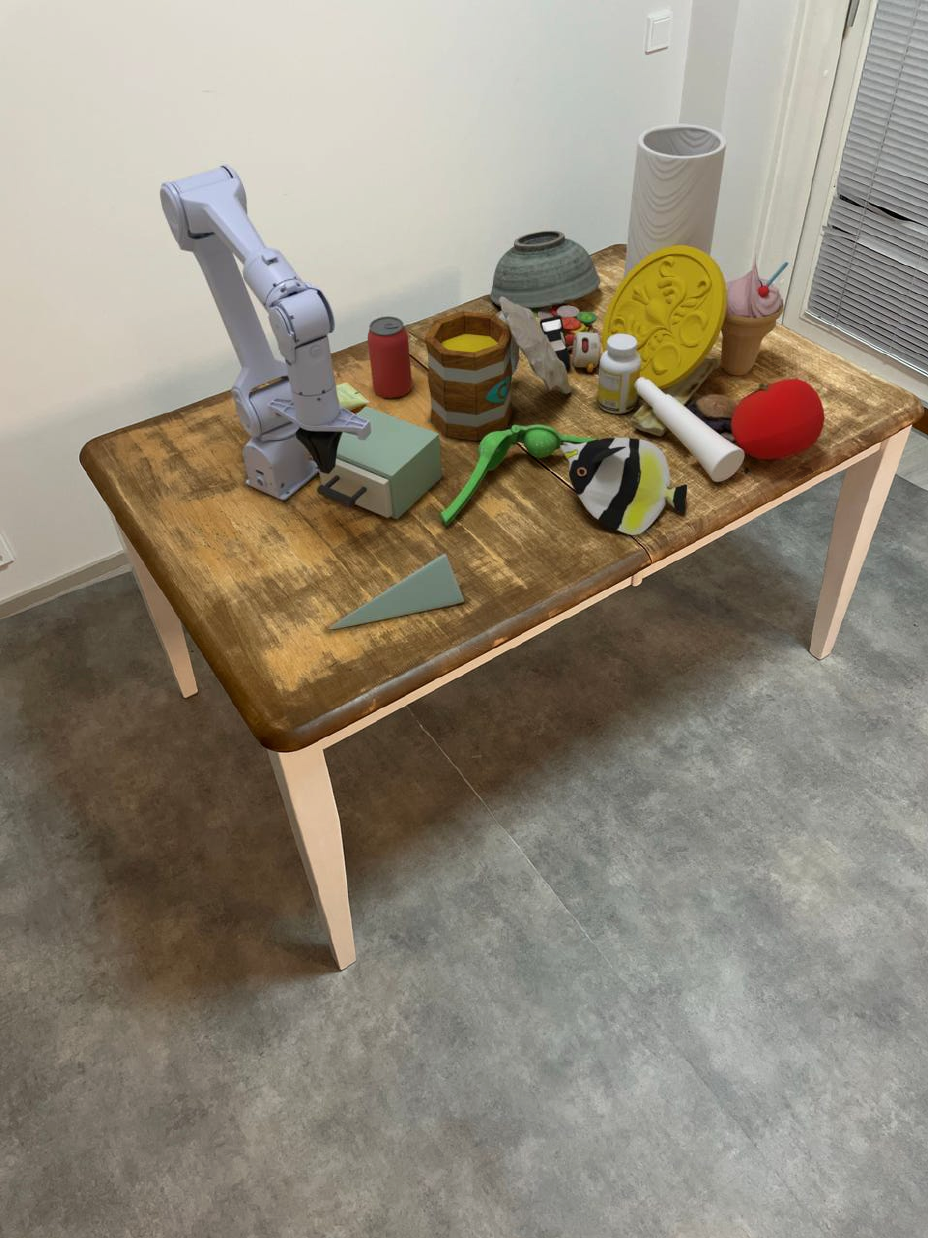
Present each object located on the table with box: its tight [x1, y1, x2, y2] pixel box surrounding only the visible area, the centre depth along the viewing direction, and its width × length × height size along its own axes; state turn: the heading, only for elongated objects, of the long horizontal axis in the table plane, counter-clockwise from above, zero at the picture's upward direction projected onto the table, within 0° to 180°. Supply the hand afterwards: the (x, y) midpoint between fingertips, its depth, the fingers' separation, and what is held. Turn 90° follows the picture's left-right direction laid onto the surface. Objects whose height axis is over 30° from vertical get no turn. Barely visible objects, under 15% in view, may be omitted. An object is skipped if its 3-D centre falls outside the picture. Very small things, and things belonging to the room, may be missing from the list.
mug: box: [424, 310, 520, 442], centre depth 154 cm, size 20×14×15 cm
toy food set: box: [530, 303, 598, 351], centre depth 173 cm, size 13×13×3 cm
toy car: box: [540, 316, 571, 371], centre depth 167 cm, size 10×4×3 cm
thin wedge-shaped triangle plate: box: [328, 553, 465, 630], centre depth 128 cm, size 8×6×18 cm
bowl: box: [489, 230, 601, 309], centre depth 180 cm, size 21×21×10 cm
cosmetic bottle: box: [634, 377, 746, 483], centre depth 148 cm, size 6×6×22 cm
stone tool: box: [499, 297, 573, 395], centre depth 152 cm, size 12×4×25 cm
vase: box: [623, 123, 727, 279], centre depth 165 cm, size 14×14×32 cm
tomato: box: [731, 378, 825, 460], centre depth 145 cm, size 12×14×11 cm
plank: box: [629, 357, 720, 437], centre depth 159 cm, size 23×6×3 cm, turn 148°
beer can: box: [367, 315, 413, 399], centre depth 160 cm, size 7×7×12 cm
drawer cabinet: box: [336, 406, 443, 521], centre depth 144 cm, size 12×14×8 cm
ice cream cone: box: [720, 254, 789, 376], centre depth 158 cm, size 11×11×20 cm
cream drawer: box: [316, 457, 393, 519], centre depth 142 cm, size 15×12×6 cm
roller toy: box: [571, 332, 601, 373], centre depth 165 cm, size 4×6×6 cm
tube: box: [336, 381, 371, 412], centre depth 158 cm, size 6×5×20 cm
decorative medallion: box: [601, 245, 727, 390], centre depth 157 cm, size 24×24×2 cm
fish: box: [560, 437, 688, 536], centre depth 139 cm, size 12×20×15 cm
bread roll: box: [685, 393, 738, 443], centre depth 154 cm, size 11×8×4 cm
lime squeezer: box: [439, 424, 598, 527], centre depth 145 cm, size 34×12×6 cm, turn 115°
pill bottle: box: [596, 334, 641, 415], centre depth 155 cm, size 6×6×12 cm
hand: (327, 468), depth 133 cm, fingers closed
